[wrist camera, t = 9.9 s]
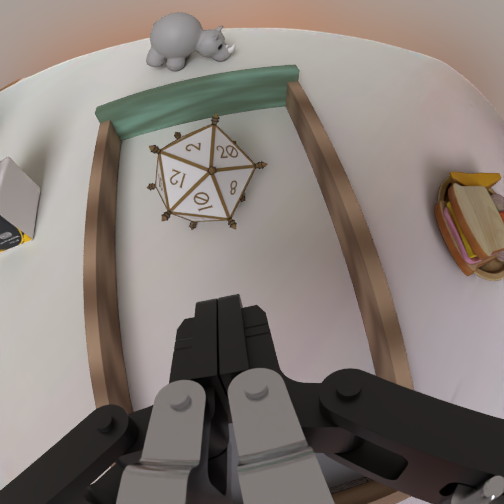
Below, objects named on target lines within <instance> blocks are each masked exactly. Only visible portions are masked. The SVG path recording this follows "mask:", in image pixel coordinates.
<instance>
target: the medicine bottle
mask: <svg viewBox="0 0 504 504" xmlns="http://www.w3.org/2000/svg"><path fill="white" fill-rule="evenodd" d="M40 191H41V189H40V188H39V187H38V186H37V185H36V184H35V183H34V182H33V181H32V180H31V179H30V178H29V177H28V176H27V175H26V174H25V173H24V171H23V170H22V169H21V168H20V167H19V166H18V165H17V164H16V163H15V162H14V161H13V160H12V159H11V158H10V157H6V158H5V159H3V160H2V161H0V253H2V252H4V251H7V250H9V249H12V248H14V247H17V246H19V245H22V244H24V243H27V242H30V241H32V240H33V235H34V227H35V220H36V213H37V207H38V201H39V196H40Z"/></svg>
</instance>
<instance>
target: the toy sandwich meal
mask: <svg viewBox="0 0 504 504" xmlns="http://www.w3.org/2000/svg"><path fill="white" fill-rule="evenodd" d="M500 179H501V176H500V174H499V173H472V174H469V173H461V172H450V176H448V177H447V178H446V179H445V180H444V181H443V183H442V184H441V186H440V189H439V194H438V203H437V204H436V205H435V215H436V219H437V222H438V226H439V228H440V231H441V234H442V236H443V238H444V241H445V243H446V245H447V247H448V249H449V251H450V253H451V255H452V256H453V258H454V260H455V261H456V263H457V265H458V266H459V268H460V269H461V270H462V272H463V273H464V274H465V275H467V276H469V275H471V274H473V273H474V274H476V275H477V276H479V277H481V278H483V279H486V280H490V281H498V280H501V279H503V278H504V197H503V196H501V195H499V194H496V193H495V192H494V191H493V189H492V188H491V187H492V186H493V185H495V184H496V183H497V182H498V181H499V180H500Z"/></svg>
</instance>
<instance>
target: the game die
mask: <svg viewBox="0 0 504 504" xmlns="http://www.w3.org/2000/svg"><path fill="white" fill-rule="evenodd" d="M218 119H219V117H218V114H217V113H216V114H215V115H214V116H213V117H212V120H211V121H212V124H211V125H208V126H206V127H203V128H201V129H199V130H196V131H194V132H192V133H189V134H187V135H185V136H182V137H181V134H180V132H179V133H178V132H175V135H174V136H175V138H176V139H177V140H175V141H173V142H172V143H170V144H168V145H167V146H165V147H164V148H162V149H159V148H158V146H157V147H156V145H153V146H149V148H150V150H151V152H154V153H157V154H158V160H157V170H156V181H155V184H153V183H152V184H149V186H148V187H147V188H148V189H150V191H151V190H152V189H153V190H154V189H155V188H156V189H157V191H158V193H159V195H160V197H161V199H162V201H163V203H164V205H165V207H166V208H167V212H164V214H163V215H162V221H166V220H167V221H168V218H170V215H171V214H173V215H176V216H178V217H181V218H184V219H187V220H189V221H191V223H190V226H189V227H190V228H191V230H193V229H194V228H196V223H195V222H203V221H224V220H227V221H228V225H230V227H231V228H234V229H236V224H237V223H235V220H233V219H232V216H233V214H234V212H235V210H236V208H237V206H238V203H239V201H241V202H242V201H245V196H243V193H244V191H245V189H246V187H247V185H248V183H249V181H250V179H251V177H252V175H253V173H254V171H255V169H256V168H259V169H260V168H262V169H263V168H264V167H265V166H266V165H267V164H266V163H264V162H262V161H261V162H258V163H257V164H255V163H254V162H253V161H252V160H251V159H250V158H249V157H248V156H247V155H246V154H245V153H244V152H243V151H242V150H241V149H240V148H239V147H238V146H237V145H236V141H232V140H231V139H230V138H229V137H228V136H227V135H226V134H225V133H224V132H223V131H222V130H221V129H220V128H219V127H218V126H217V125H216V124H217V122H219V121H218Z"/></svg>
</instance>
